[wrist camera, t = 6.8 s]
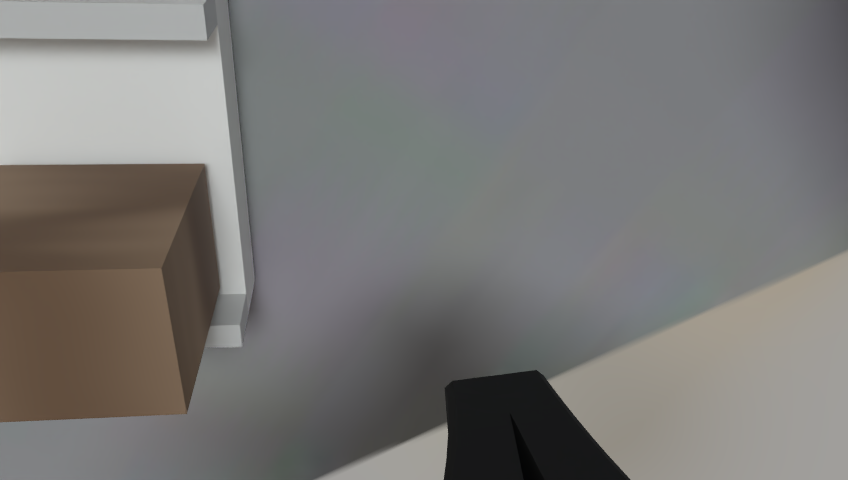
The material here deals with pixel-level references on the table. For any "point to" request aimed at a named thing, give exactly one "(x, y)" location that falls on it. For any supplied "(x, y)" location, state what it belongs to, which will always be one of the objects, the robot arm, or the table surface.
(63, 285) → the tab
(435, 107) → the table surface
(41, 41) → the white flat ridged tray
